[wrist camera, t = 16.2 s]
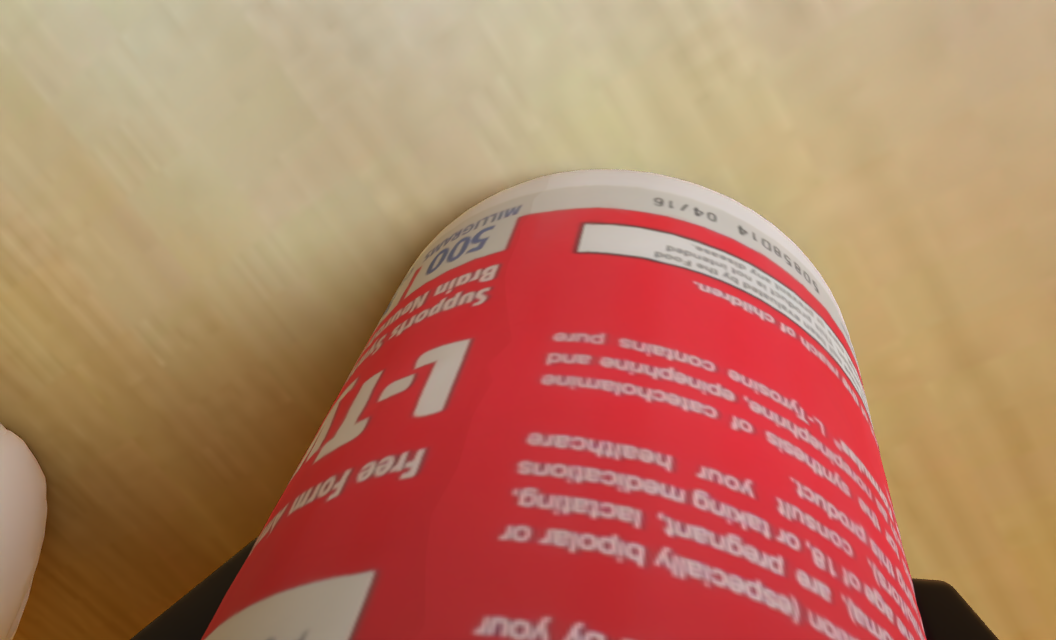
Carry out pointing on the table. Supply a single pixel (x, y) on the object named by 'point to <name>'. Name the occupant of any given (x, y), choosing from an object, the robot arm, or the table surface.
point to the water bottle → (18, 527)
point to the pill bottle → (591, 442)
